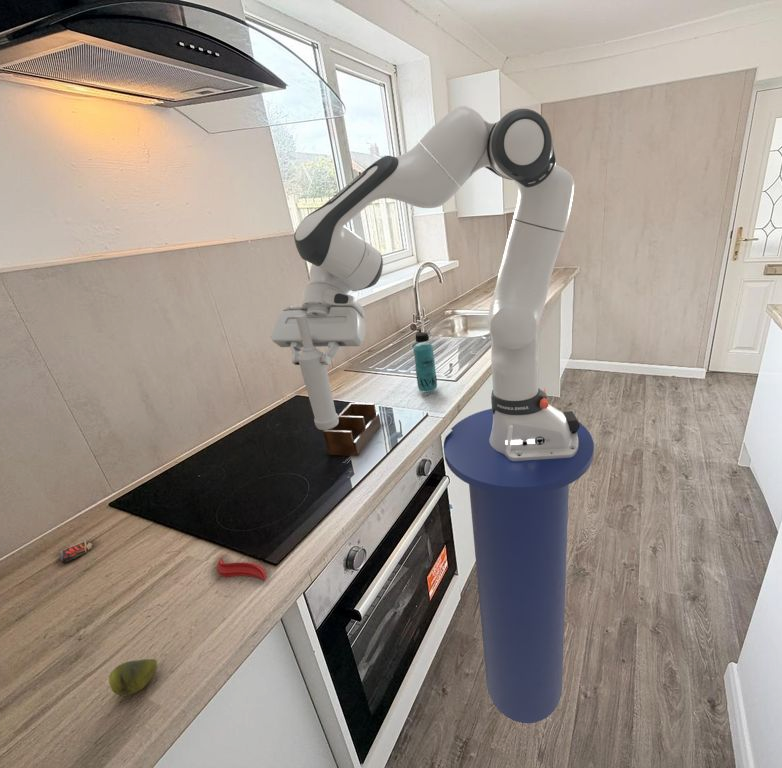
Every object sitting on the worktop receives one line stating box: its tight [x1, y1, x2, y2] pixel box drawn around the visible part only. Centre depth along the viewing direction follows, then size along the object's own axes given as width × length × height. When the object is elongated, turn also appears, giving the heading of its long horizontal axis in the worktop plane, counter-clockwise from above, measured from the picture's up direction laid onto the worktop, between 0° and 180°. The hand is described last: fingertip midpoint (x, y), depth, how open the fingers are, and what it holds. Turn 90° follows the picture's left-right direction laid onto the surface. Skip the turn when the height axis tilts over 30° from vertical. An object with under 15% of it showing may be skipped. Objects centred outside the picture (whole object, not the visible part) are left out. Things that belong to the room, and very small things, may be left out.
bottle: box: [295, 314, 339, 431], centre depth 87 cm, size 5×5×25 cm
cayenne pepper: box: [216, 557, 267, 581], centre depth 73 cm, size 12×5×2 cm, turn 58°
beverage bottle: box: [413, 332, 438, 393], centre depth 132 cm, size 6×7×20 cm
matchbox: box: [60, 540, 93, 563], centre depth 81 cm, size 5×5×1 cm
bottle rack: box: [322, 402, 382, 457], centre depth 110 cm, size 8×16×7 cm, turn 169°
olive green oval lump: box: [108, 658, 158, 697], centre depth 55 cm, size 4×5×5 cm
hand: (311, 364), depth 86 cm, fingers closed on bottle, 5 cm apart
